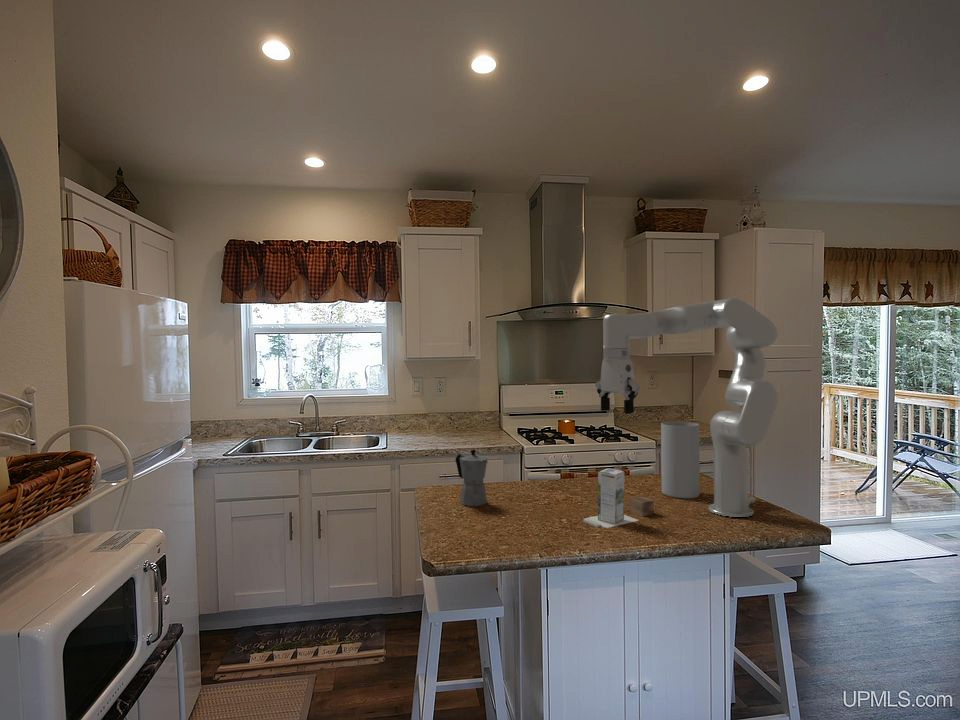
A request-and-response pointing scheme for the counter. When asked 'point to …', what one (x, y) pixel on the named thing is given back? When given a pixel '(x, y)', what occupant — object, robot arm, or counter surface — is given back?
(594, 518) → the clipboard
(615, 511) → the syrup box
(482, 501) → the coffeepot
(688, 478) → the cylinder vase
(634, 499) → the walnut block
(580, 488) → the counter surface
